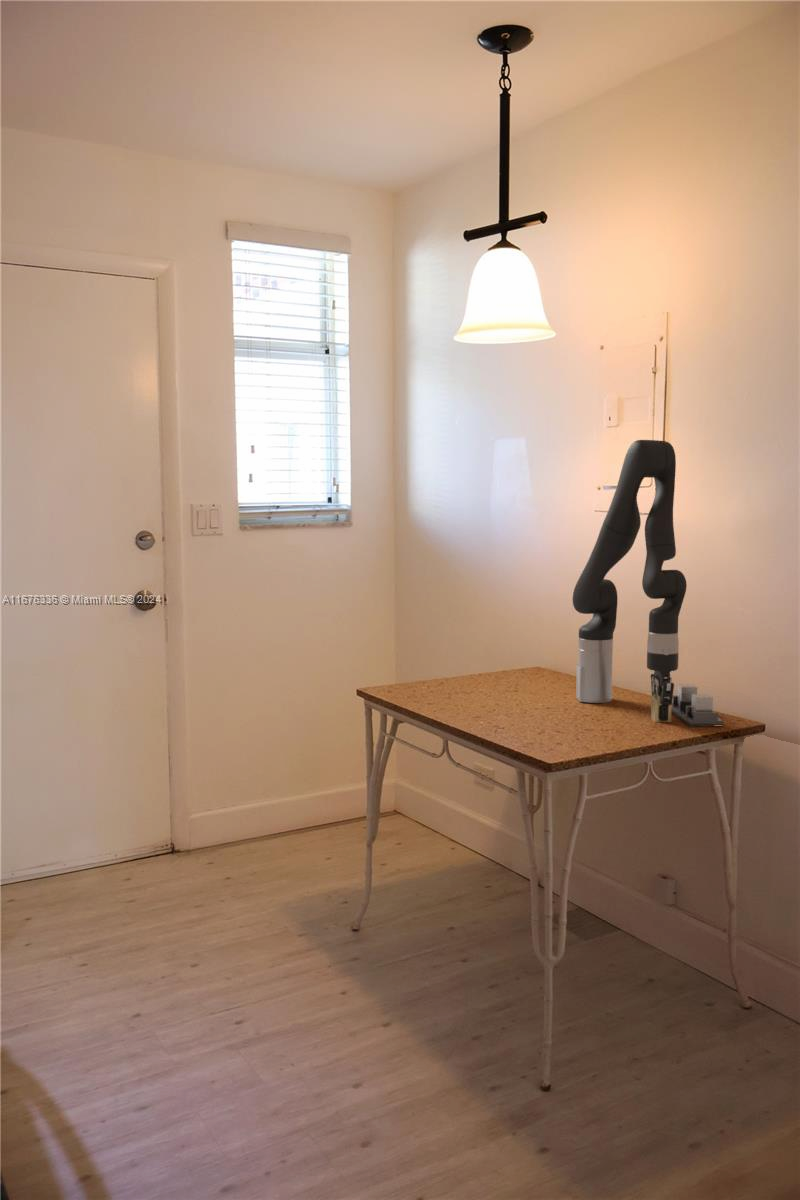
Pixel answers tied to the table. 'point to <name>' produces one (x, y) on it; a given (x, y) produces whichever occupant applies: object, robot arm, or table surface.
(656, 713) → the tan rectangular block
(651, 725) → the table surface
